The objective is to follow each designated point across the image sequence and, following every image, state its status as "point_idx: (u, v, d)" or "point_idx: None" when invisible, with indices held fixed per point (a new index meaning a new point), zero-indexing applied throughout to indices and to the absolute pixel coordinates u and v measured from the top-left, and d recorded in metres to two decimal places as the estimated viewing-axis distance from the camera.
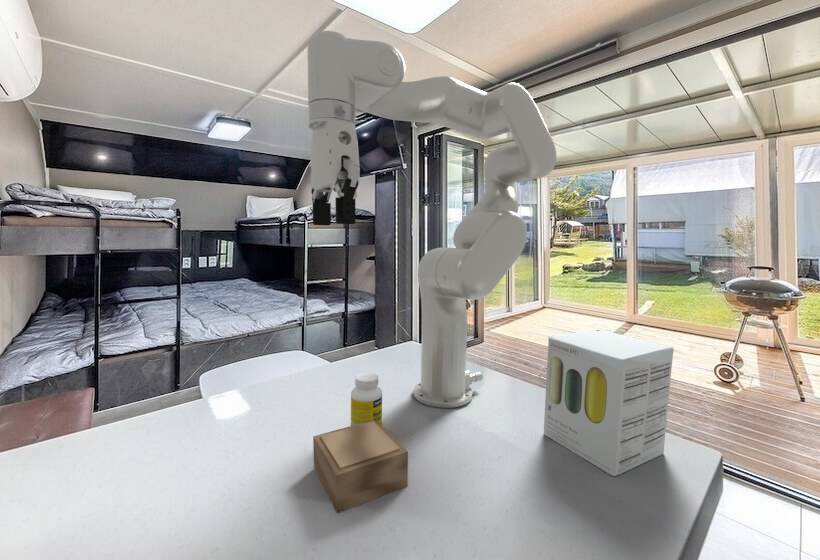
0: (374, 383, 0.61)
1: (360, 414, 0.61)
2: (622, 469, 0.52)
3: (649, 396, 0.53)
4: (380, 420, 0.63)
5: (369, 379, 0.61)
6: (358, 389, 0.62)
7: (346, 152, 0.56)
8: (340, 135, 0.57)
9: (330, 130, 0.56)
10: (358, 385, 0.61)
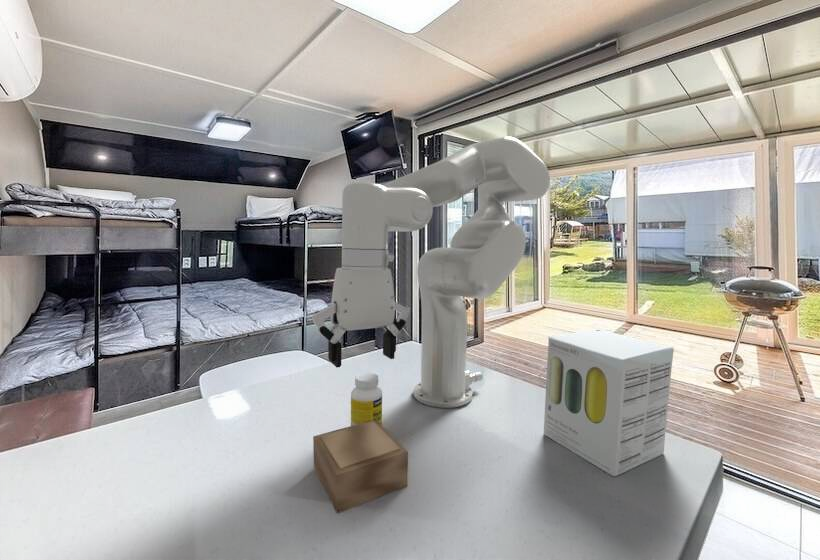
0: (374, 383, 0.61)
1: (360, 414, 0.61)
2: (622, 469, 0.52)
3: (649, 396, 0.53)
4: (380, 420, 0.63)
5: (369, 379, 0.61)
6: (358, 389, 0.62)
7: None
8: None
9: (391, 278, 0.61)
10: (358, 385, 0.61)
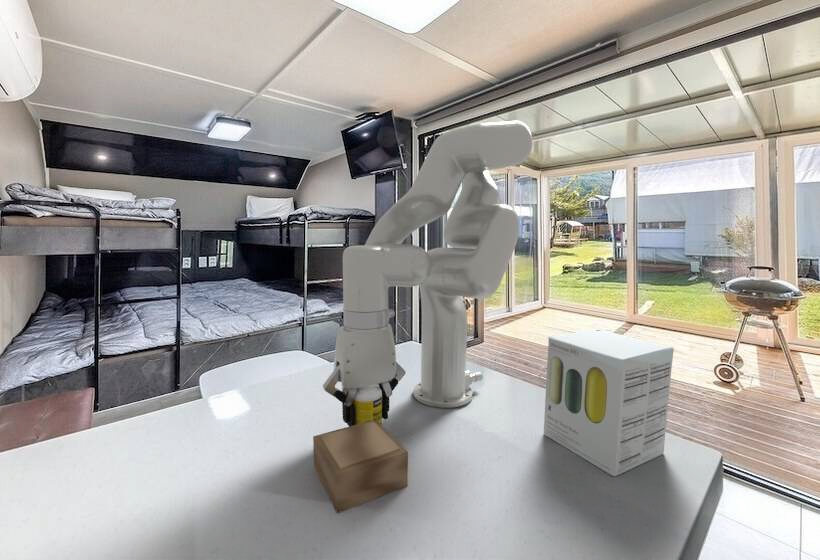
0: None
1: (360, 414, 0.61)
2: (622, 469, 0.52)
3: (649, 396, 0.53)
4: (380, 420, 0.63)
5: None
6: (358, 389, 0.62)
7: None
8: None
9: (392, 335, 0.62)
10: None
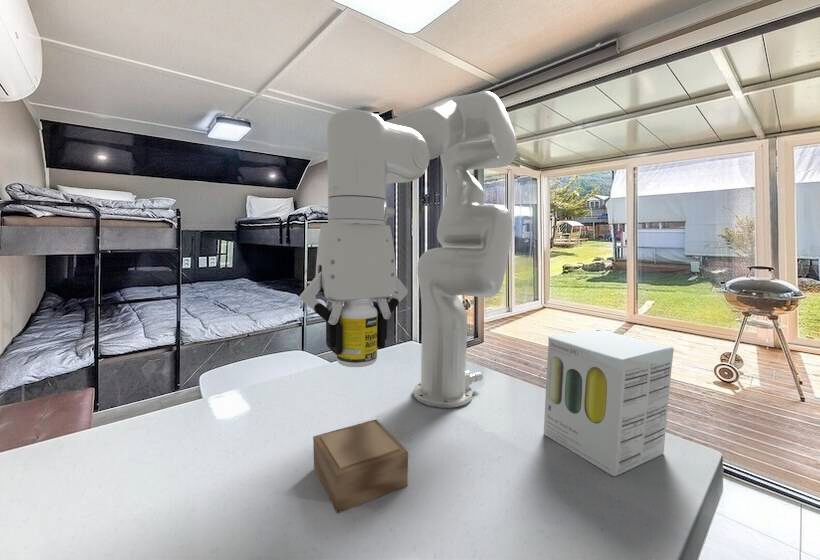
0: None
1: (348, 336, 0.47)
2: (622, 469, 0.52)
3: (649, 396, 0.53)
4: (375, 347, 0.49)
5: None
6: (346, 305, 0.48)
7: None
8: None
9: (390, 237, 0.48)
10: None
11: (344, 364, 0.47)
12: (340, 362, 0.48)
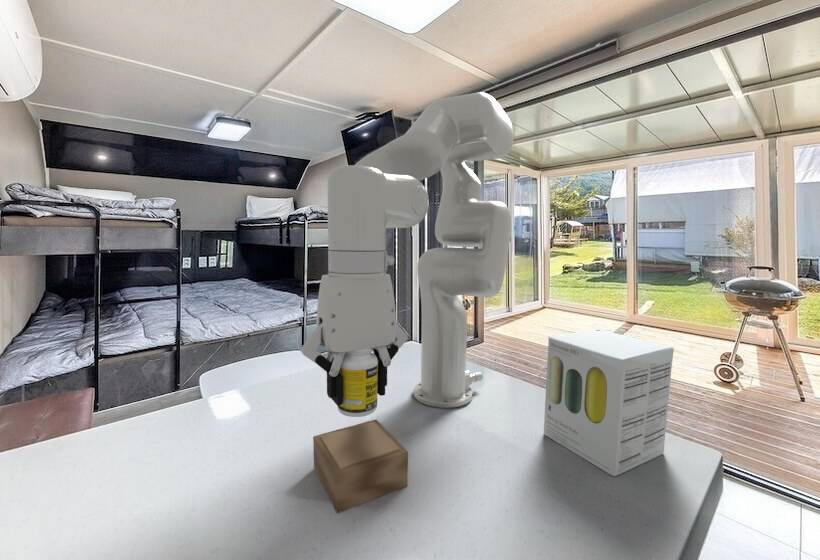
0: None
1: (349, 387, 0.47)
2: (622, 469, 0.52)
3: (649, 396, 0.53)
4: (375, 395, 0.49)
5: None
6: (347, 355, 0.48)
7: None
8: None
9: (390, 287, 0.48)
10: None
11: (345, 414, 0.48)
12: (341, 411, 0.48)
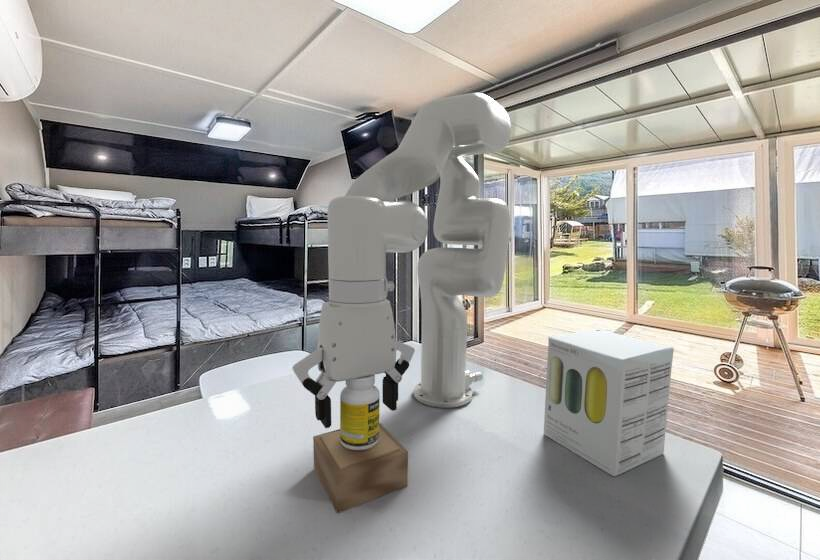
0: (370, 381, 0.49)
1: (352, 421, 0.48)
2: (622, 469, 0.52)
3: (649, 396, 0.53)
4: (377, 428, 0.50)
5: None
6: (349, 389, 0.49)
7: None
8: None
9: (390, 313, 0.49)
10: (349, 384, 0.48)
11: (347, 447, 0.49)
12: (343, 444, 0.49)
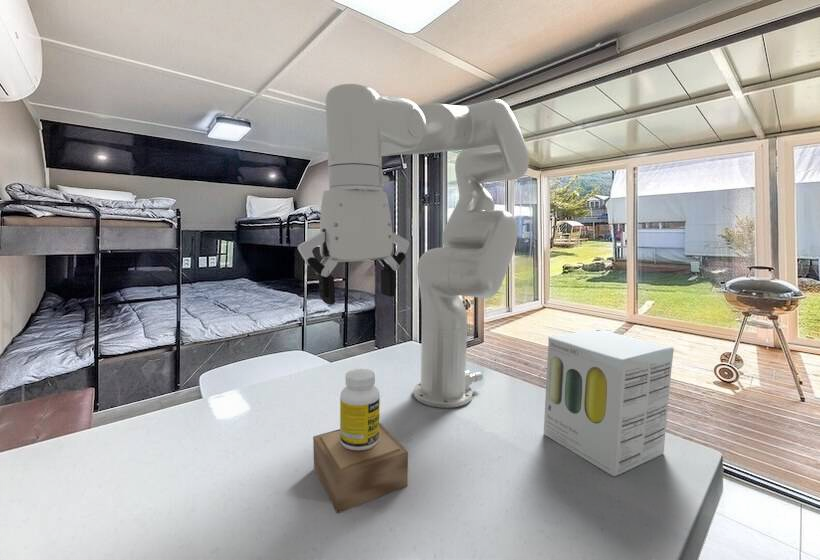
0: (370, 382, 0.49)
1: (352, 421, 0.48)
2: (622, 469, 0.52)
3: (649, 396, 0.53)
4: (377, 428, 0.50)
5: (363, 377, 0.49)
6: (349, 389, 0.49)
7: None
8: None
9: (387, 202, 0.53)
10: (349, 384, 0.48)
11: (347, 447, 0.49)
12: (343, 445, 0.49)
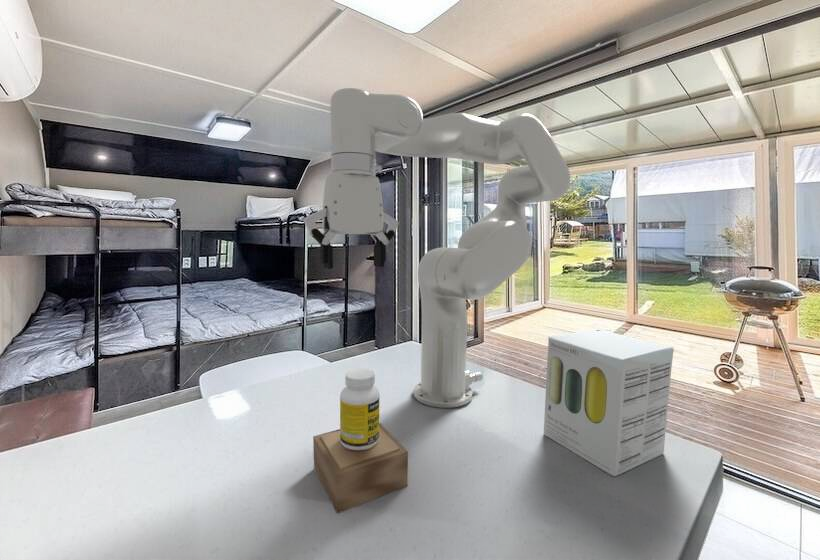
0: (370, 381, 0.49)
1: (351, 421, 0.48)
2: (622, 469, 0.52)
3: (649, 396, 0.53)
4: (377, 428, 0.50)
5: (363, 377, 0.49)
6: (349, 389, 0.49)
7: None
8: None
9: (379, 186, 0.63)
10: (349, 384, 0.48)
11: (347, 447, 0.49)
12: (343, 445, 0.49)
